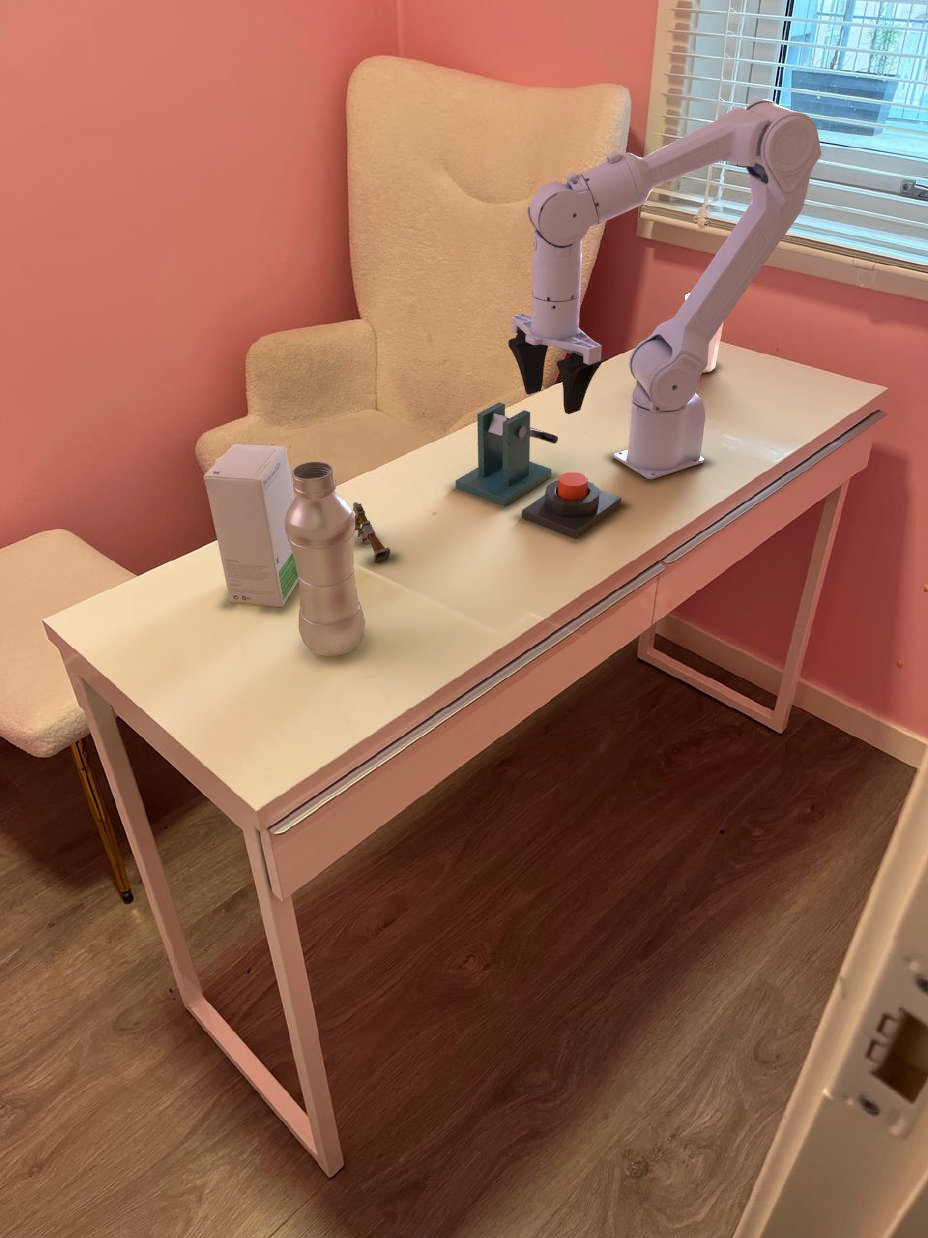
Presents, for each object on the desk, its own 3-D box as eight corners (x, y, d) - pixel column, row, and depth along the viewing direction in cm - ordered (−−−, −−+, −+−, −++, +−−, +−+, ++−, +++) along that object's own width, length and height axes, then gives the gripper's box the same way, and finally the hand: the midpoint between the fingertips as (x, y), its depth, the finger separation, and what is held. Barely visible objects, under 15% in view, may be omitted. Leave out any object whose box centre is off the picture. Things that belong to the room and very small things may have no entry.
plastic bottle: (303, 628, 102) (277, 456, 90) (367, 623, 103) (349, 452, 91) (300, 666, 97) (271, 489, 85) (367, 662, 97) (349, 485, 85)
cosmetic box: (282, 610, 105) (261, 482, 96) (225, 604, 106) (198, 477, 97) (307, 567, 112) (290, 444, 102) (253, 562, 113) (231, 440, 103)
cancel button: (568, 483, 121) (569, 469, 119) (593, 492, 119) (593, 477, 118) (551, 495, 119) (552, 480, 117) (576, 504, 117) (577, 489, 115)
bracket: (503, 460, 132) (503, 391, 126) (551, 476, 128) (553, 407, 122) (455, 488, 126) (453, 418, 120) (504, 507, 122) (504, 435, 116)
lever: (524, 439, 131) (530, 421, 131) (555, 449, 129) (560, 431, 128) (479, 428, 122) (484, 410, 122) (510, 439, 120) (516, 420, 119)
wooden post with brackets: (359, 519, 118) (362, 496, 114) (386, 570, 115) (390, 548, 111) (345, 523, 117) (348, 500, 114) (372, 575, 114) (376, 552, 110)
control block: (568, 487, 125) (569, 466, 124) (621, 506, 121) (622, 484, 119) (521, 518, 119) (521, 497, 117) (575, 539, 115) (576, 517, 113)
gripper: (491, 286, 118) (492, 391, 126) (571, 317, 108) (566, 429, 116) (536, 274, 121) (534, 378, 129) (617, 303, 112) (609, 413, 120)
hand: (552, 401), depth 123 cm, fingers open, 7 cm apart
